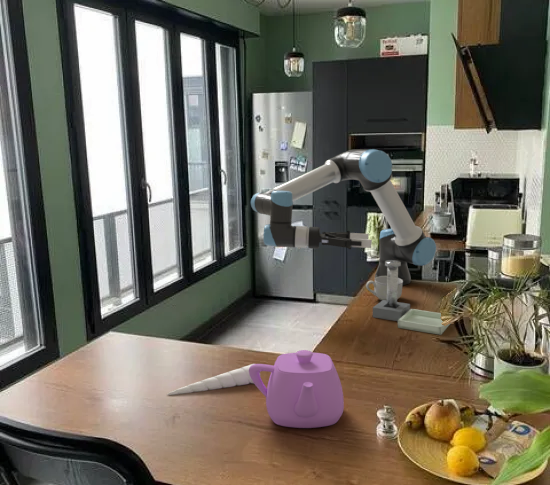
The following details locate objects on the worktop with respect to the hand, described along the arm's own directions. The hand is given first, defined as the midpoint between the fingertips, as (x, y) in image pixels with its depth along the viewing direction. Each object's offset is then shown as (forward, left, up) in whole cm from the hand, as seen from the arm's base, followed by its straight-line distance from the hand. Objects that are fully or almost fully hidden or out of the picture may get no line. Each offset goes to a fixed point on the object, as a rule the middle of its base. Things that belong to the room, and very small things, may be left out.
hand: (370, 240), depth 187 cm
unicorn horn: (+72, -12, -27) cm, 78 cm away
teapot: (+74, +14, -27) cm, 80 cm away
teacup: (-20, -2, -27) cm, 33 cm away
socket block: (-3, +7, -26) cm, 28 cm away
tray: (+1, +20, -26) cm, 33 cm away
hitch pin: (-3, +7, -26) cm, 28 cm away
